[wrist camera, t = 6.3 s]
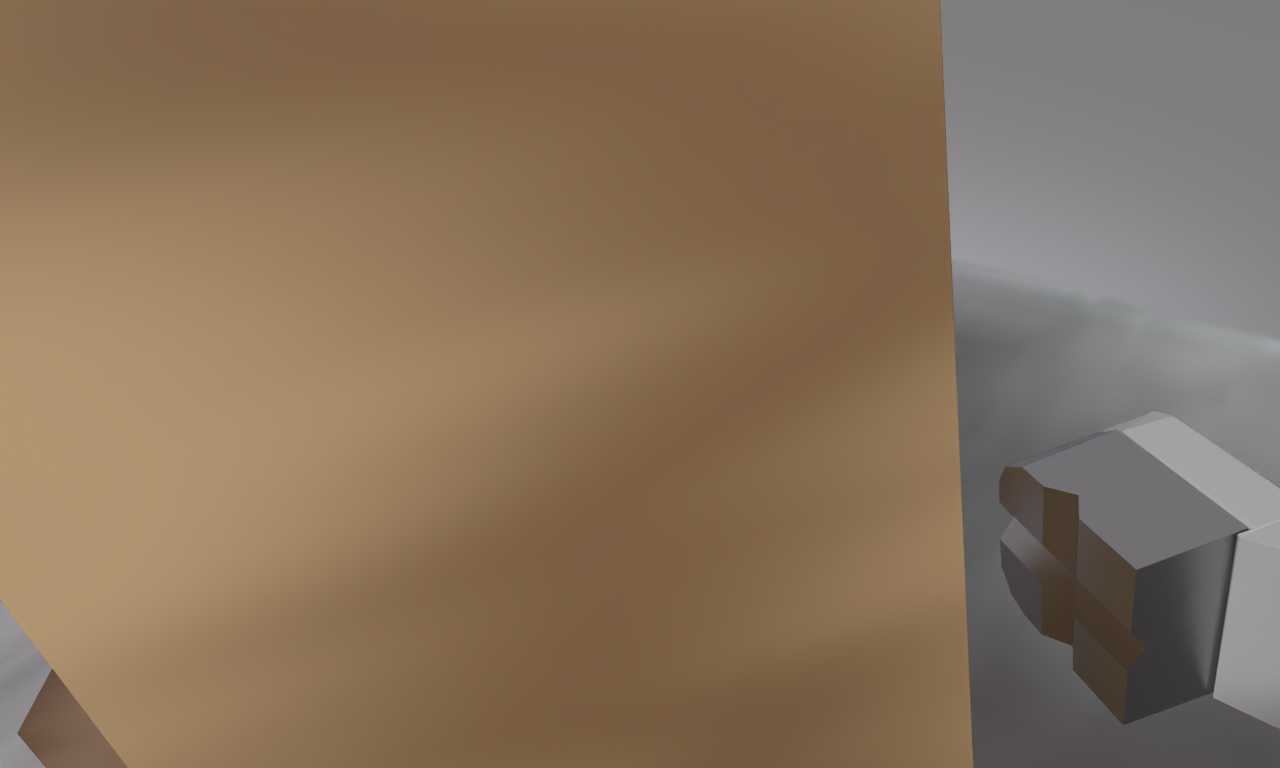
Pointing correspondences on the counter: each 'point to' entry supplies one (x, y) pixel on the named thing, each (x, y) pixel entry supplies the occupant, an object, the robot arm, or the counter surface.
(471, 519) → the wooden rod
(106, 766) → the pedestal
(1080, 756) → the counter surface
